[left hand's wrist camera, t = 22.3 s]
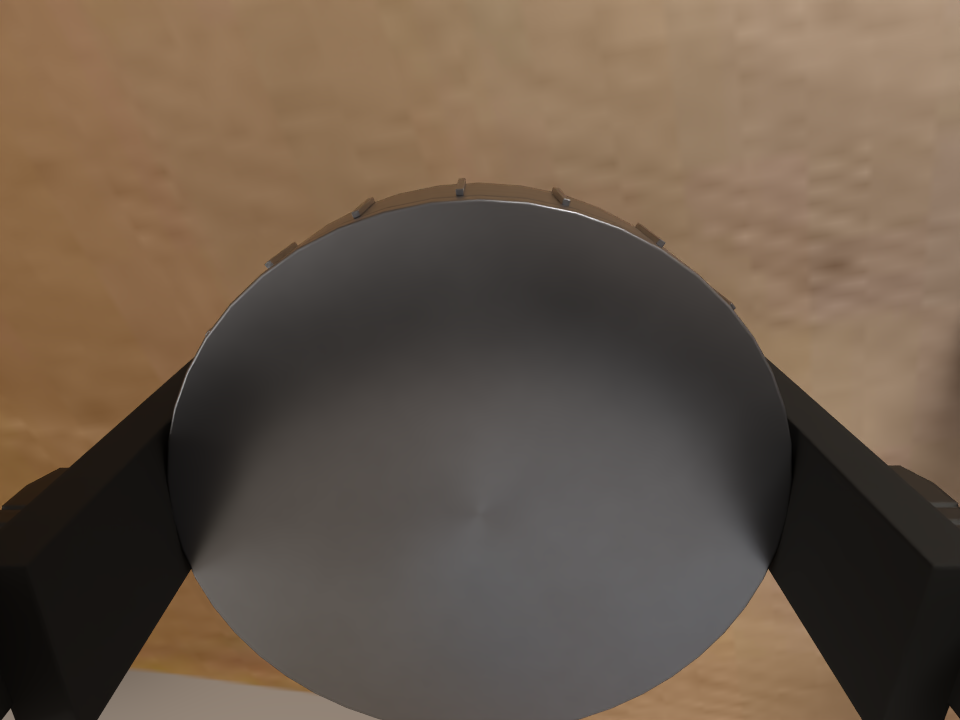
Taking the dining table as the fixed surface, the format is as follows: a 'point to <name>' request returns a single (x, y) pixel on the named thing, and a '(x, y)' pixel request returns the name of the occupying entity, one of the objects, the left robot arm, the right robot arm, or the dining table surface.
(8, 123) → the dining table surface
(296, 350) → the lid
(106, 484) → the left robot arm
